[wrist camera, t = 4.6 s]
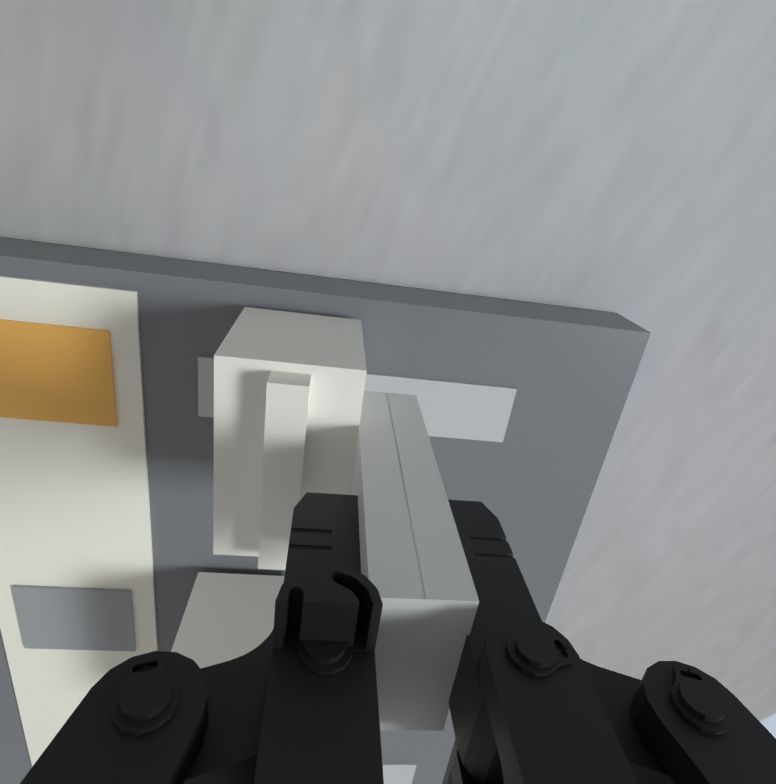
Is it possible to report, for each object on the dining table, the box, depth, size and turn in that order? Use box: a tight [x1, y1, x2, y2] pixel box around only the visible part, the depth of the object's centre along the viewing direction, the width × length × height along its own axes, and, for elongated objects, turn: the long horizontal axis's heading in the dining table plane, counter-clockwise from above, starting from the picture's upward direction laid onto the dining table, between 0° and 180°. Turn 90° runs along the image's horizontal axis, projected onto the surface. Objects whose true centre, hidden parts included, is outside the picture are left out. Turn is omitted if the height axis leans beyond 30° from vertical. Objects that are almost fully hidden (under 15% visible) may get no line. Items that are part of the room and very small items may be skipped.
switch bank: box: [0, 237, 650, 784], centre depth 19 cm, size 22×24×2 cm
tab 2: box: [171, 572, 284, 669], centre depth 16 cm, size 3×5×4 cm, turn 172°
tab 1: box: [213, 307, 367, 570], centre depth 13 cm, size 3×5×4 cm, turn 172°
